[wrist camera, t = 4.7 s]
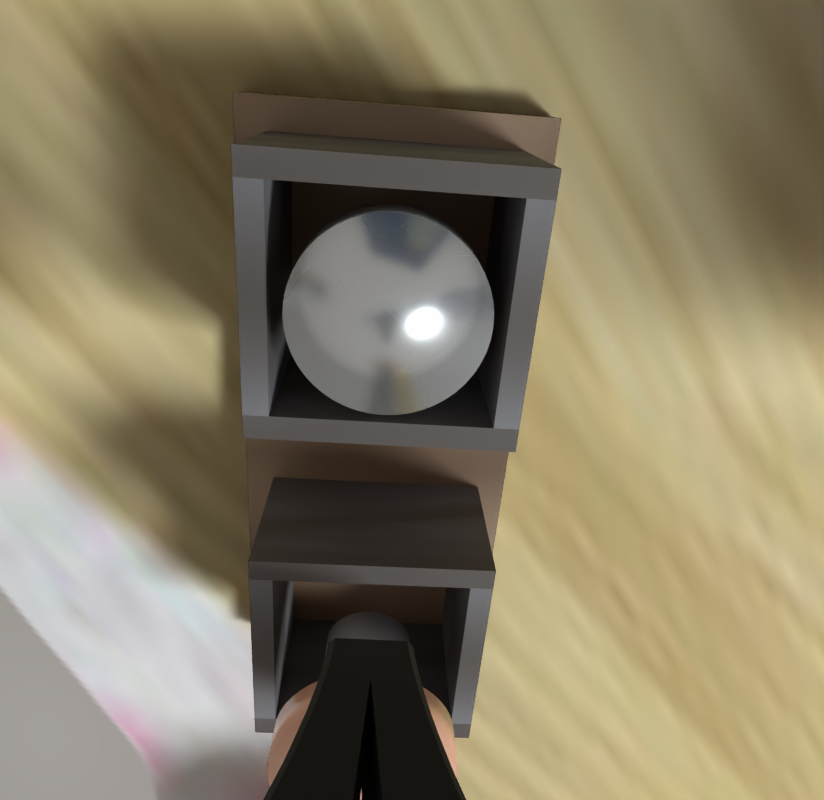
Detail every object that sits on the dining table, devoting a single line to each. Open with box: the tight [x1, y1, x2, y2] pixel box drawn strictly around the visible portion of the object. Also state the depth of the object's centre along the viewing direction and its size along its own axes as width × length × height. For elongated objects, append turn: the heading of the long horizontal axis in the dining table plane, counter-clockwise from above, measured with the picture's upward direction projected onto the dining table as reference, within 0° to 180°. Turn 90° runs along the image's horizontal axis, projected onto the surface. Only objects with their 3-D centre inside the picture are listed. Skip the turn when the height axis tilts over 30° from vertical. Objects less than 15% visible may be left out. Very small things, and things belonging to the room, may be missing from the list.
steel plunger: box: [282, 205, 494, 415], centre depth 15 cm, size 4×4×4 cm
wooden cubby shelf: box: [231, 92, 561, 738], centre depth 18 cm, size 18×8×5 cm, turn 176°
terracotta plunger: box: [267, 612, 458, 800], centre depth 17 cm, size 4×4×4 cm
